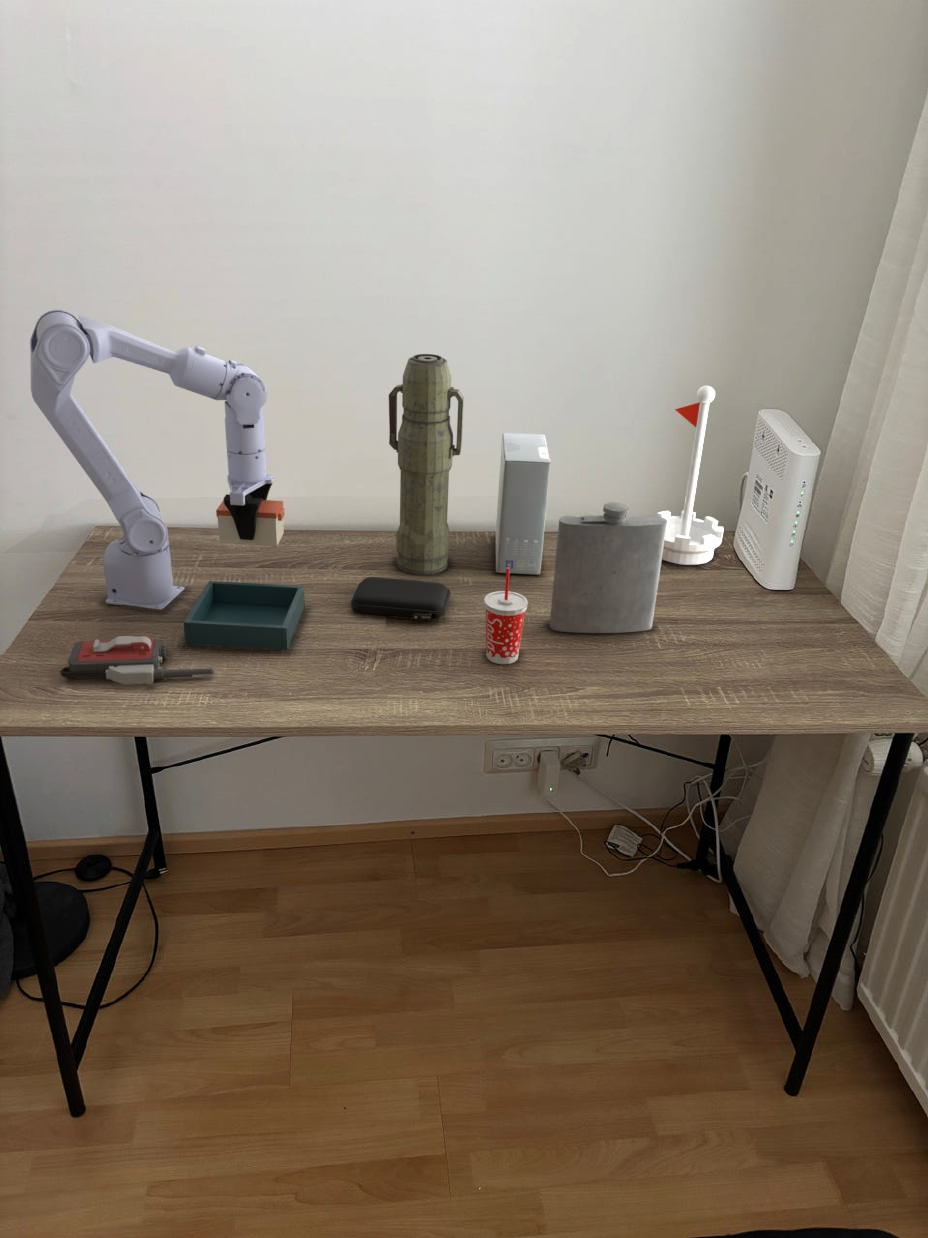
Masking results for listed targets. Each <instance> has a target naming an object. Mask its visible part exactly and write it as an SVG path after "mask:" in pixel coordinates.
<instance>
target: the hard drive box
mask: <svg viewBox="0 0 928 1238" xmlns="http://www.w3.org/2000/svg"><path fill="white" fill-rule="evenodd" d="M500 446H501V448H500V464H499V478H498V493H497V505H496V508H497V509H496V521H495V522H496V523H495V572H496V573H499V574H506V569H507V567H509V568H510V574H516V575H517V574H519V575H536V576H538V575H540V574H541V571H542V569H541V568H542V560H543V549H544V540H545V539H544V538H545V527H546V524H545V523H546V515H547V503H548V493H549V484H550V483H549V482H550V471H551V464H552V462H551V458H550V452H549V449H548V444H547V440H546V435H545V434H541V433H521V432H519V433H517V432H502V434H501V445H500Z"/></svg>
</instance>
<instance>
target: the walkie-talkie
mask: <svg viewBox="0 0 928 1238" xmlns="http://www.w3.org/2000/svg"><path fill="white" fill-rule="evenodd" d="M167 649H168V648H167V645H166V644H162V638H161V639H160V638H151V637H149V636H148V635H134V636H133V635H118V636H116V637H114V638H113V639H111V640H100V639H97V638H96V639H94V640H89V641H88V640H85V641H77V642H74V643H73V646H72V649H71V651H70V654H69V657H68V666H66V667H63V668H61V669H60V676H61V677H64V678H73V679H74V680H76V679H79V680H80V679H94V678H95V679H98V678H105V679H106V680H110V681H113V682H114V683H115V682H116V683H118V684H120V685H143V684H144V685H145V684H146V685H153V684H154V681H155V680H164V679H170V678H171V679H172V678H173V679H174V678H192V677H193V676H198V675H214V674H215V670H214V668H212V667H209V668H208V667H207V668H206V667H205V668H185V669H182V668H181V669H163V666H161V664H162V663H163V660H165V661H166V660H167V659H168V658H167V657H168V650H167Z"/></svg>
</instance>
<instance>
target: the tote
mask: <svg viewBox="0 0 928 1238" xmlns="http://www.w3.org/2000/svg"><path fill="white" fill-rule="evenodd" d="M305 605H306V603H305V586H304V585H290V584H273V583H271V584H270V583H258V582H257V583H255V582H241V581H240V582H238V581H219V580H208V582H207V583H206V585H205V587H204V588H203V590H202V591H201V593H200V595H199V596H198V597H197V599H196V601H195V603H194V604H193V606H192V608H191V610H190V611H189V613H188V614H187V616H186V618H185V619H184V620H183V630H184V632H183V633H184V639H185V645H199V646H200V645H202V646H219V647H220V646H221V647H236V648H252V649H253V648H254V649H269V650H271V649H272V650H286V651H287V650H288V649H289V647H290V645H291V644H290V643H291V642H292V639H293V637H294V634H295V632H296V630H297V627H298V624H299V621H300V619H301V617H302V614H303V612H304V609H305V607H306V606H305Z"/></svg>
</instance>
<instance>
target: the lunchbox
mask: <svg viewBox="0 0 928 1238" xmlns="http://www.w3.org/2000/svg"><path fill="white" fill-rule="evenodd" d="M215 515H216V518H217V528H218V529H217V530H218V540H219V544H229V545H230V544H231V545H248V546H249V545H250V546H266V547H267V546H268V547H278V545H279V543H280V542H281V539H282V537H283V536H284V534H285V530H284V528H285V527H284V517H285V508H284V501H283V500H274V499H273V500H272V499H267V500H262V502H261V504H260V507H259V509H258V513H257V520H256V531H255V536H254V539H253V540H242V539H240V537H239V535H238V532H237V529H236V525H235V522H234V520H233V517H232V515H231V513H230V512H229V510H228V509H227V507H226V506H225V505H224V499H223V500H222V501H221V503H220V504H219V505H218V507H217V508H216V510H215Z"/></svg>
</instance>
